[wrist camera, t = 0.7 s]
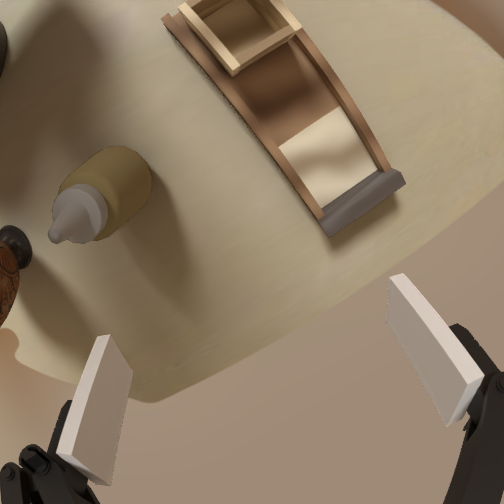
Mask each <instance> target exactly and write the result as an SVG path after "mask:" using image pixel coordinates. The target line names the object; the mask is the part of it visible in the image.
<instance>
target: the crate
mask: <svg viewBox="0 0 504 504" xmlns="http://www.w3.org/2000/svg"><path fill="white" fill-rule="evenodd" d="M178 9H179V11H180V13H181V15H182V17H183V19H184V20H185V22H186V24H187V26H188V27H189V28H190V29H191V30H192V31H193V32H194V34H195V35H196V36H197V37H198V38H199V39H200V40H201V42H202V43H203V44H204V45H205V46H206V47H207V48H208V50H209V51H210V52H211V53H212V54H213V55H214V57H215V58H216V59H217V60H218V61H219V63H220V64H221V65H222V66H223V67H224V69H225V70H226V71H227V72H228V73H229V75H230V76H231V77H233V76H235V75H236V74H238V73H239V72H240V71H242V70H243V69H245V68H246V67H248V66H249V65H251V64H252V63H254V62H255V61H257V60H259V59H260V58H262V57H263V56H265V55H266V54H268V53H270V52H271V51H273V50H274V49H276V48H278V47H279V46H281V45H283V44H284V43H286V42H288V41H289V40H290V39H291V38H292V37H293V36H294V35H295V34H296V33H297V32H298V31H299V30H300V29H301V28H302V26H301V25H300V23H299V22H298V21H297V20H296V18H295V17H294V16H293V15H292V14H291V12H290V11H289V10H288V9H287V8H286V6H285V5H284V4H283V3H282V2H281V1H280V0H188V1H186V2H185V3H183V4H182V5H180V6H179V7H178Z"/></svg>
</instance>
